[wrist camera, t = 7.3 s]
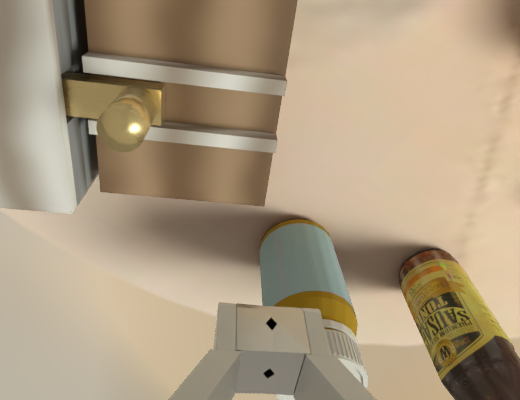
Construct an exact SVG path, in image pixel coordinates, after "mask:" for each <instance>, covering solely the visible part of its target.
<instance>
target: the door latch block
mask: <svg viewBox="0 0 520 400" xmlns="http://www.w3.org/2000/svg"><path fill="white" fill-rule="evenodd" d="M296 6H297V0H0V208H8V209H20V210H32V211H44V212H56V213H68V214H73V212H74V211H75V209H76V207H77V206H78V204H79V203H80V201H81V200H82V198H83V197H84V195H85V194H86V192H87V191H88V189H89V188H90V186H91V184H92V183H93V181H94V180H95V178H96V177H97V175H98V174H99V179H100V191H101V192H108V193H119V194H130V195H141V196H153V197H164V198H175V199H186V200H198V201H209V202H220V203H232V204H243V205H254V206H264V205H265V198H266V192H267V186H268V180H269V174H270V167H271V161H272V155H273V153H275V152H276V146H277V136H276V130H277V124H278V118H279V111H280V105H281V99H282V96H285V91H286V85H287V80H286V77H285V74H286V68H287V62H288V56H289V49H290V43H291V37H292V31H293V24H294V18H295V12H296ZM86 27H87V28H86ZM64 72H70V73H79V74H87V75H96V76H104V77H113V78H121V79H130V80H138V81H147V82H155V83H164V84H165V118H164V120H163V123H162V125H161V126H158V125H151V127H150V129H149V130H148V132H147V134H146V136H145V138H144V140H143V142H142V144H141V145H140V146H139V147H138V148H137V149H135V150H133V151H131V152H117V151H114V150H112V149H110V148H108V147H107V146H106V145H105V144H104V143H103V142H102V141H101V140H100V138H99V136H98V133H97V129H96V125H97V121H98V119H93V118H83V117H74V116H66V111H65V103H64V95H63V87H62V79H61V74H62V73H64ZM98 167H99V168H98Z"/></svg>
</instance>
